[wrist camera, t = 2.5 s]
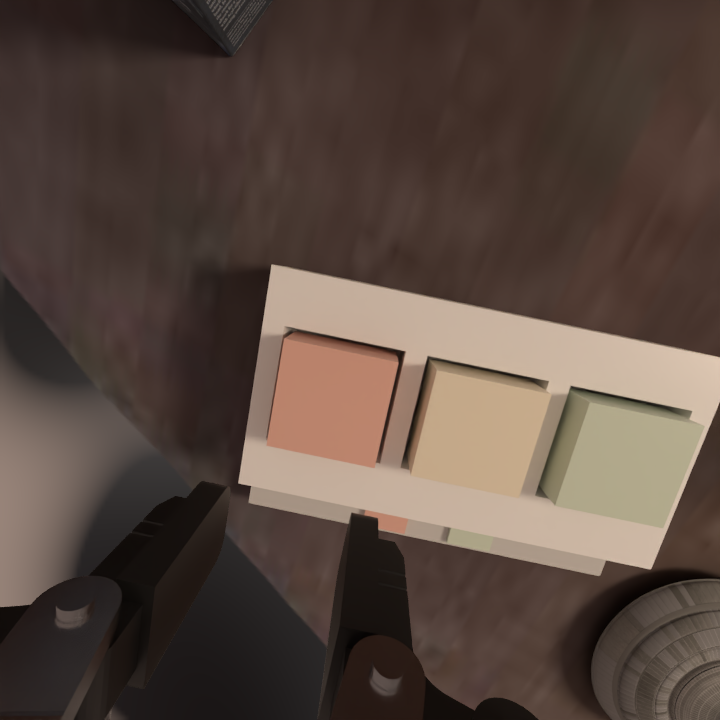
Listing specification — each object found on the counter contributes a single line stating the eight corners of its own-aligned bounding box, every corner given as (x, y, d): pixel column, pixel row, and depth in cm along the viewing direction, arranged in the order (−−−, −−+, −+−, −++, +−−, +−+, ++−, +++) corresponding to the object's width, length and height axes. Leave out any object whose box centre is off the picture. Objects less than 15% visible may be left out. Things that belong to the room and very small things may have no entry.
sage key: (663, 407, 23) (704, 426, 20) (628, 498, 24) (663, 528, 22) (563, 386, 23) (589, 402, 20) (533, 478, 24) (554, 505, 22)
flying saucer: (772, 544, 29) (863, 604, 23) (791, 706, 31) (877, 794, 26) (564, 589, 30) (605, 655, 25) (599, 740, 33) (643, 830, 28)
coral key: (396, 351, 23) (398, 362, 20) (374, 445, 24) (374, 468, 22) (295, 331, 23) (284, 338, 20) (279, 425, 24) (266, 445, 22)
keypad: (668, 345, 26) (736, 361, 21) (588, 561, 29) (631, 617, 24) (291, 267, 26) (271, 264, 21) (255, 491, 29) (230, 534, 24)
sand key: (529, 379, 23) (551, 394, 20) (501, 472, 24) (518, 498, 22) (429, 358, 23) (436, 370, 20) (406, 452, 24) (410, 475, 22)
